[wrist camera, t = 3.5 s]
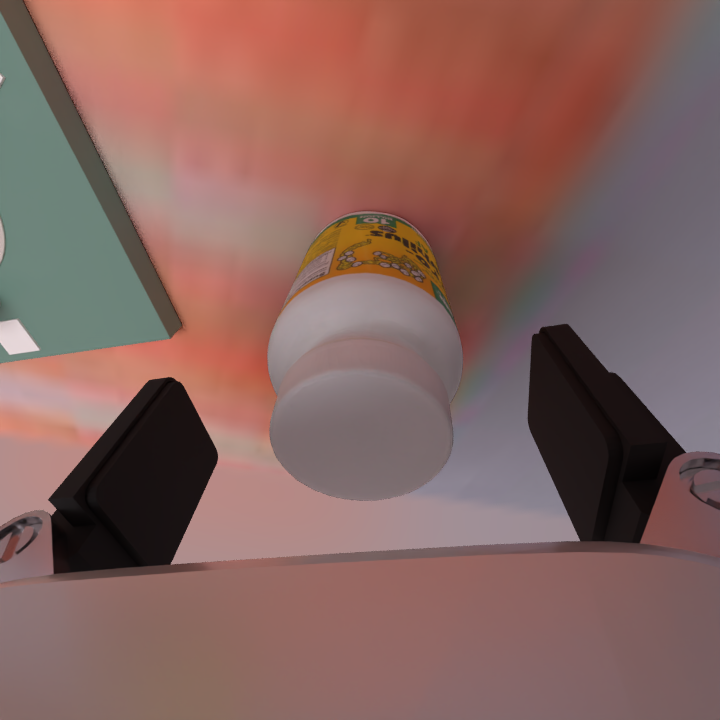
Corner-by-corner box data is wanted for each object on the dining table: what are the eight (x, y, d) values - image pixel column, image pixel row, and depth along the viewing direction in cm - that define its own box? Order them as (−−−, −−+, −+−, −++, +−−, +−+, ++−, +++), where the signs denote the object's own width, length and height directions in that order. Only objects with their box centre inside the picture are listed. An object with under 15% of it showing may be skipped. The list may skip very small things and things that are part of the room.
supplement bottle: (280, 274, 17) (185, 440, 9) (369, 174, 14) (350, 276, 6) (371, 351, 19) (362, 545, 11) (464, 274, 16) (539, 448, 8)
